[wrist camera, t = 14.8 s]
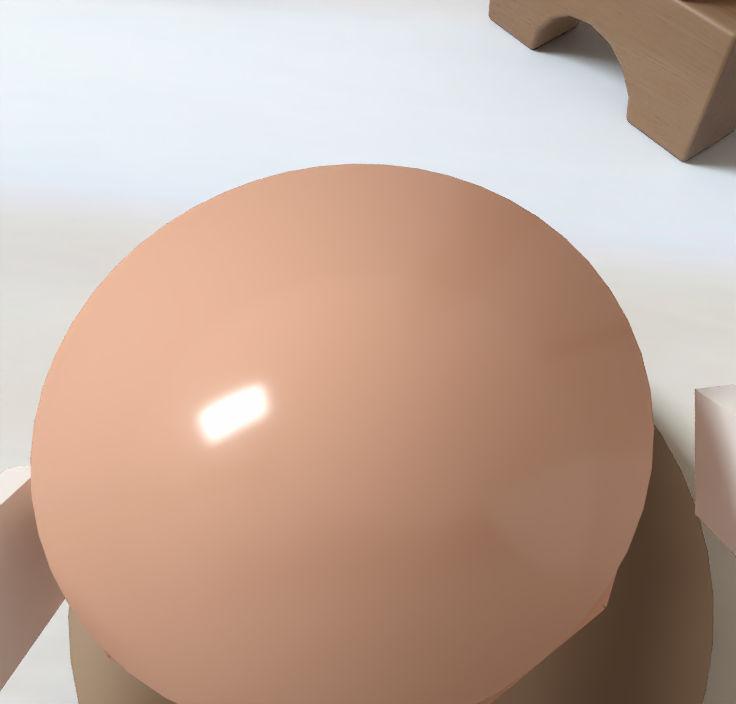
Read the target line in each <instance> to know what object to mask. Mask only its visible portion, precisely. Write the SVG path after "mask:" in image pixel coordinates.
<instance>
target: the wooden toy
mask: <svg viewBox="0 0 736 704" xmlns="http://www.w3.org/2000/svg"><path fill="white" fill-rule="evenodd" d="M489 17H490V19H491V20H492V21H494V22H495V23H496V24H498V25H499V26H500V27H502V28H503V29H504V30H506V31H507V32H508V33H510V34H511V35H513V36H514V37H515V38H517V39H518V40H519V41H521V42H522V43H523V44H525V45H526V46H527V47H529V48H530V49H536V48H537V47H539V46H541V45H543V44H545V43H547V42H548V41H550V40H552V39H554V38H556V37H558V36H559V35H561V34H563V33H565V32H567V31H569V30H570V29H572V28H574V27H576V26H577V25H578V23H579V21H580V20H581V21H583V22H586V23H588V24H590V25H591V26H592V27H593V28H594V29H595V30H596V31H597V32H598V33H599V34H600V35H601V36H602V37H603V38H604V39H605V40H606V41H607V42H609V44H610V46H611V47H612V49H613V51H614V53H615V55H616V57H617V59H618V61H619V63H620V65H621V67H622V69H623V73H624V78H625V82H626V87H627V91H628V96H629V98H628V107H627V120H628V122H629V123H631V124H632V125H633V126H635V127H636V128H637V129H639V130H640V131H641V132H643V133H644V134H645V135H647V136H648V137H649V138H651V139H652V140H654V141H655V142H656V143H658V144H659V145H660V146H662V147H663V148H664V149H666V150H667V151H668V152H670V153H671V154H672V155H674V156H675V157H676V158H678V159H679V160H681V161H687V160H689V159H690V158H692V157H693V156H695V155H697V154H698V153H700V152H701V151H703V150H705V149H706V148H708V147H709V146H711V145H712V144H714V143H716V142H717V141H719V140H720V139H722V138H723V137H725V136H727V135H728V134H730V133H731V132H732V131H733V130H734V128H735V126H736V0H490V4H489Z"/></svg>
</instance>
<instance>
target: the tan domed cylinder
mask: <svg viewBox="0 0 736 704" xmlns="http://www.w3.org/2000/svg"><path fill="white" fill-rule="evenodd" d="M653 438H654V423H653V412H652V402H651V391H650V386H649V382H648V378H647V374H646V370H645V366H644V362H643V358H642V354H641V351H640V349H639V346H638V344H637V341H636V339H635V337H634V334H633V332H632V329H631V327H630V324H629V322H628V319H627V318H626V316H625V314H624V313H623V311H622V309H621V307H620V306H619V304H618V302H617V300H616V299H615V297H614V295H613V294H612V292H611V290H610V289H609V287H608V286H607V285H606V283H605V282H604V281H603V280H602V278H601V277H600V276H599V274H598V273H597V272H596V270H595V269H594V268H593V267H592V265H591V264H590V263H589V261H588V260H587V259H586V258H585V257H584V256H583V255H582V254H581V253H579V252H578V251H577V250H576V249H575V248H574V247H573V246H572V245H571V244H570V243H569V242H568V241H567V240H566V239H565V238H564V237H563V236H562V235H561V234H559V233H558V232H557V231H555V230H554V229H553V228H552V227H550V226H549V225H548V224H546V223H545V222H544V221H543V220H541V219H540V218H539V217H537V216H536V215H534V214H532V213H531V212H529V211H527V210H526V209H524V208H522V207H521V206H519V205H517V204H516V203H514V202H512V201H511V200H509V199H507V198H505V197H502V196H500V195H498V194H496V193H494V192H492V191H489V190H487V189H485V188H483V187H481V186H478V185H475V184H472V183H469V182H466V181H463V180H460V179H457V178H454V177H451V176H448V175H444V174H439V173H435V172H430V171H426V170H421V169H417V168H409V167H400V166H392V165H380V164H344V165H331V166H319V167H313V168H307V169H301V170H295V171H289V172H285V173H281V174H278V175H274V176H270V177H266V178H263V179H259V180H255V181H253V182H250V183H247V184H245V185H242V186H239V187H237V188H234V189H231V190H229V191H226V192H224V193H222V194H220V195H218V196H216V197H213V198H211V199H209V200H207V201H205V202H203V203H201V204H199V205H197V206H195V207H193V208H192V209H190V210H189V211H187V212H185V213H184V214H182V215H180V216H179V217H177V218H175V219H174V220H172V221H171V222H169V223H167V224H166V225H165V226H163V227H162V228H161V229H159V230H158V231H157V232H155V233H154V234H153V235H151V236H150V237H149V238H147V239H146V240H145V241H143V242H142V243H141V244H140V245H138V246H137V247H136V248H135V249H134V250H133V251H132V252H131V253H130V254H129V255H128V256H127V257H126V258H125V259H123V260H122V261H121V262H120V263H119V264H118V265H117V266H116V267H115V268H114V269H113V270H112V271H111V273H110V274H109V275H108V276H107V277H106V278H105V279H104V281H103V282H102V283H101V284H100V285H99V286H98V288H97V289H96V290H95V291H94V292H93V293H92V295H91V296H90V298H89V299H88V300H87V302H86V303H85V305H84V306H83V308H82V309H81V311H80V312H79V313H78V315H77V316H76V318H75V319H74V321H73V322H72V324H71V326H70V328H69V330H68V332H67V333H66V335H65V337H64V339H63V341H62V343H61V345H60V347H59V348H58V350H57V352H56V354H55V357H54V359H53V362H52V365H51V367H50V370H49V372H48V375H47V378H46V380H45V383H44V385H43V389H42V393H41V397H40V401H39V405H38V409H37V413H36V417H35V421H34V430H33V439H32V448H31V457H30V463H31V495H32V501H33V507H34V513H35V518H36V524H37V529H38V534H39V537H40V540H41V543H42V546H43V549H44V552H45V555H46V558H47V561H48V564H49V567H50V570H51V572H52V574H53V576H54V578H55V580H56V582H57V583H58V585H59V587H60V589H61V591H62V593H63V595H64V597H65V599H66V600H67V602H68V604H69V606H70V608H71V609H72V611H73V612H74V613H75V615H76V616H77V617H78V619H79V620H80V621H81V623H82V624H83V625H84V626H85V628H86V629H87V630H88V632H89V633H90V634H91V636H92V637H93V638H94V640H95V641H96V642H97V643H98V644H99V645H100V646H101V647H102V648H103V649H104V651H105V654H106V656H107V657H109V659H110V660H112V661H114V662H115V663H117V664H119V665H121V666H122V667H123V668H124V669H125V670H126V671H127V672H128V673H130V674H131V675H133V676H134V677H136V678H137V679H139V680H140V681H141V682H143V683H144V684H146V685H147V686H149V687H150V688H152V689H153V690H154V691H156V692H157V693H159V694H160V695H162V696H163V697H165V698H167V699H169V700H171V701H173V702H175V703H177V704H491V703H492V702H494V701H495V700H496V699H497V698H499V697H500V696H501V695H502V694H503V693H505V692H506V691H507V690H508V689H509V688H511V687H512V686H513V685H514V684H516V683H517V682H518V681H519V680H520V679H522V678H523V677H524V676H525V675H526V674H528V673H529V672H530V671H531V670H533V669H534V668H535V667H536V666H537V665H539V664H540V663H541V662H542V661H543V660H545V659H546V658H547V657H548V656H549V655H550V654H552V653H553V652H554V651H555V650H556V649H558V648H559V647H560V646H561V645H562V644H564V643H565V642H566V641H567V640H568V639H570V638H571V637H572V636H573V635H574V634H576V633H577V632H578V631H579V630H580V629H582V628H583V627H584V626H585V625H586V624H588V623H589V622H590V621H591V620H592V619H594V618H595V617H596V616H597V615H598V614H600V613H601V612H602V611H603V610H604V609H605V607H607V603H608V600H609V597H610V593H611V590H612V586H613V583H614V580H615V576H616V573H617V569H618V567H619V565H620V564H621V562H622V560H623V558H624V557H625V555H626V553H627V551H628V549H629V546H630V544H631V541H632V538H633V536H634V533H635V530H636V528H637V525H638V522H639V519H640V517H641V514H642V511H643V508H644V504H645V499H646V494H647V489H648V484H649V480H650V475H651V470H652V456H653Z"/></svg>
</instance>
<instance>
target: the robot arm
mask: <svg viewBox="0 0 736 704" xmlns="http://www.w3.org/2000/svg"><path fill="white" fill-rule="evenodd" d="M695 515H696V516H697V517H698V518H699V519H700V520H701V521H702V522H703V523H704V524H705V525H706V526H707V527H708V528H709V529H710V530H711V532H712V533H713V534H714V535H715V536H716V537H717V538H718V539H719V540H720V541H721V542H722V543H723V544H724V545H725V546H726V547H727V548H728V549H729V550H730V551H731V552H732V553H733V554H734V555H735V556H736V386H735V385H726V386H718V387H709V388H700V389H695ZM64 599H65V597H64V595H63V593H62V591H61V589H60V587H59V585H58V583H57V582H56V580H55V578H54V576H53V574H52V572H51V570H50V567H49V564H48V561H47V558H46V555H45V552H44V549H43V546H42V543H41V540H40V537H39V534H38V529H37V524H36V518H35V513H34V507H33V501H32V495H31V465H30V466H21V467H13V468H8V469H7V470H6V471H4V472H3V473H2V474H1V475H0V691H1V689H2V688H3V686H4V685H5V684H6V682H7V681H8V679H9V678H10V676H11V675H12V674H13V672H14V671H15V669H16V668H17V666H18V665H19V664H20V662H21V661H22V659H23V658H24V656H25V655H26V654H27V652H28V651H29V649H30V648H31V646H32V645H33V644H34V642H35V641H36V639H37V638H38V636H39V635H40V634H41V632H42V631H43V629H44V628H45V627H46V625H47V624H48V622H49V621H50V619H51V618H52V617H53V615H54V614H55V612H56V611H57V609H58V608H59V607H60V605H61V604H62V602H63V601H64Z"/></svg>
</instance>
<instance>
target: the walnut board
mask: <svg viewBox="0 0 736 704" xmlns="http://www.w3.org/2000/svg"><path fill="white" fill-rule="evenodd" d="M68 620H69V638H70V657H71V665H72V670H73V676H74V681H75V686H76V692H77V697H78V703H79V704H177V703H175V702H173V701H171V700H169V699H167V698H165V697H163V696H162V695H160V694H159V693H157V692H156V691H154V690H153V689H152V688H150V687H149V686H147V685H146V684H144V683H143V682H141V681H140V680H139V679H137V678H136V677H134V676H133V675H131V674H130V673H128V672H127V671H126V670H125V669H124V668H123V667H122V666H121V665H119V664H117V663H115V662H114V661H112V660H110V659H109V657H107V656H106V654H105V651H104V649H103V648H102V647H101V646H100V645H99V644H98V643H97V642H96V641H95V640H94V638H93V637H92V636H91V634H90V633H89V632H88V630H87V629H86V628H85V626H84V625H83V624H82V623H81V621H80V620H79V619H78V617H77V616H76V615H75V613H74V612H73V611H72V609H71V608H70V606H69V615H68ZM712 645H713V591H712V583H711V575H710V567H709V559H708V551H707V548H706V544H705V540H704V536H703V532H702V528H701V524H700V521H699V518H698V517H697V516H696V515H695V504H694V502H693V499H692V497H691V494H690V492H689V489H688V487H687V484H686V482H685V479H684V477H683V474H682V472H681V469H680V468H679V466H678V464H677V462H676V460H675V459H674V457H673V455H672V453H671V451H670V449H669V448H668V446H667V444H666V442H665V440H664V439H663V437H662V435H661V433H660V432H659V431H658V429H657V428H656V427H655V425H654V438H653V456H652V470H651V475H650V480H649V484H648V489H647V494H646V499H645V504H644V508H643V511H642V514H641V517H640V519H639V522H638V525H637V528H636V530H635V533H634V536H633V538H632V541H631V544H630V546H629V549H628V551H627V553H626V555H625V557H624V558H623V560H622V562H621V564H620V565H619V567H618V569H617V573H616V576H615V580H614V583H613V586H612V590H611V593H610V597H609V600H608V603H607V607H605V609H604V610H603V611H602V612H601V613H600V614H598V615H597V616H596V617H595V618H594V619H592V620H591V621H590V622H589V623H588V624H586V625H585V626H584V627H583V628H582V629H580V630H579V631H578V632H577V633H576V634H574V635H573V636H572V637H571V638H570V639H568V640H567V641H566V642H565V643H564V644H562V645H561V646H560V647H559V648H558V649H556V650H555V651H554V652H553V653H552V654H550V655H549V656H548V657H547V658H546V659H545V660H543V661H542V662H541V663H540V664H539V665H537V666H536V667H535V668H534V669H533V670H531V671H530V672H529V673H528V674H526V675H525V676H524V677H523V678H522V679H520V680H519V681H518V682H517V683H516V684H514V685H513V686H512V687H511V688H509V689H508V690H507V691H506V692H505V693H503V694H502V695H501V696H500V697H499V698H497V699H496V700H495V701H494V702H492V703H491V704H702V701H703V698H704V695H705V691H706V685H707V678H708V672H709V665H710V658H711V651H712Z"/></svg>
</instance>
